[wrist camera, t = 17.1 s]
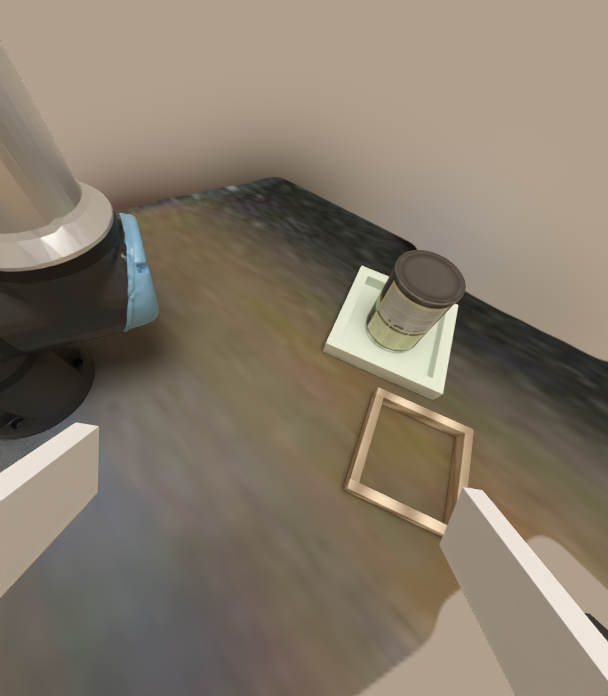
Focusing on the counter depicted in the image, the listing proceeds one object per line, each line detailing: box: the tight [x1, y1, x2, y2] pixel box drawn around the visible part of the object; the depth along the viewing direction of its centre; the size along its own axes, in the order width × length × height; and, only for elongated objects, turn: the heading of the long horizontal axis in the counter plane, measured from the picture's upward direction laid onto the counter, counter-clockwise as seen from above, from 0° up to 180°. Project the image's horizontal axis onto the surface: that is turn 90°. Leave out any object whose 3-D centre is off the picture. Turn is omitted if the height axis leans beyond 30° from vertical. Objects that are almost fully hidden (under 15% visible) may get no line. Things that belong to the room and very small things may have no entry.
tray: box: [323, 266, 458, 400], centre depth 52 cm, size 20×20×3 cm
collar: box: [343, 387, 474, 537], centre depth 41 cm, size 15×15×2 cm
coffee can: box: [365, 250, 466, 353], centre depth 47 cm, size 10×10×14 cm
